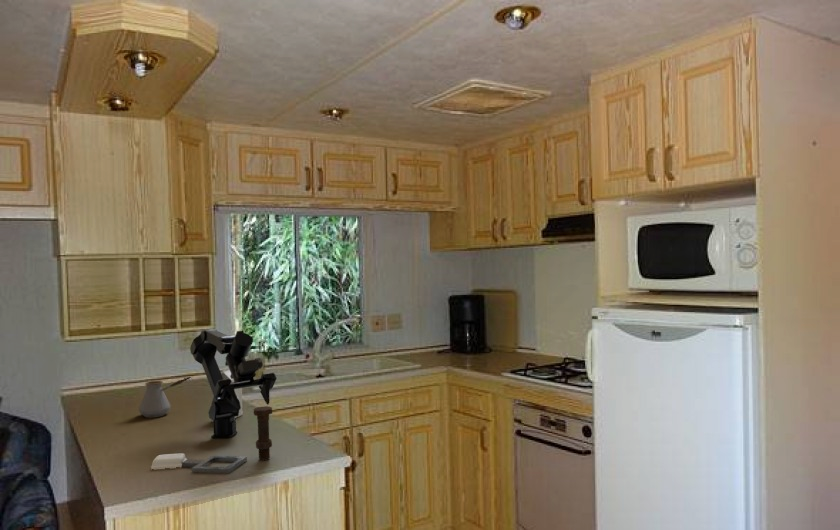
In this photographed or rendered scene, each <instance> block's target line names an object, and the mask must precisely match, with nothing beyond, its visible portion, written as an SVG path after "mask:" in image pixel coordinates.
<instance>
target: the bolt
mask: <svg viewBox="0 0 840 530" xmlns="http://www.w3.org/2000/svg"><path fill="white" fill-rule="evenodd" d="M272 414H273V408H272V407H271V406H268V405H267V406H258V407H255V408H253V416H256V418H257V419H256V420H257V438H258V439H257V440H256V441H255V447H256V449H257V450H258V460H260V459H261V460H260V461H267V459H268V460H269V459H270V458H271V457H270V454H271V453H270V449H271V448H272V446H273V441H272V439H271V438H270V424H269V423H270V421H269V420H270V415H272Z"/></svg>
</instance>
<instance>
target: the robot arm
mask: <svg viewBox="0 0 840 530" xmlns="http://www.w3.org/2000/svg"><path fill="white" fill-rule="evenodd" d="M253 342H254V338H253V337H252V336H251V335H250V334H249V333H245V332H244V330H236V333H235V334H231V335H227V334H225V333H223V332H221V331H220V330H219V331H218V329H215V328H212V329H211V328H210V329H203V330H201V332H200V334H199V335H197V336H196V337H195V338H193V340H192V341H191V344H190V347H189V348H190V354H191V355H192V356H193V359H194V360H195V362H197V363H198V364H200V365H202V368H203V371H204V373H205V376H206V379H207V381H208V383H209V387H210V389H211V392H212V394H213V397H212V401H211V405H210V408H209V410H208V417H209V419H210V420H212V422H213V423H212V424H213V427H212V428H213V429H212V430H213V434H212V435H211V436H210V438H216V439H217V438H219V439H221V438H222V439H225V438H226V439H227V438H228V439H229V438H231V437H233V436H235V435H237V434H238V431H237V421H236V420H235V419H236V418H235V416H238V415H239V410H240V409H241V406H240V402H239V399H238V398H237V395H236V394H235V391H234V389H238V388H242V389H248V388H252V387H253V388H254V387H258V388H259V390H260V394H261V397H262V399H263V400H264V402H265V404H266V405H267V406H268V405H270V391H271V389H273V388H274V385H275V383H276V381H277V378H278V377H277V375H276V374H275V373H274V372H266V373H262V374H261V376H260V378H256V379H254V378H255V377H256V375H257V374H256V372H257V371H259V370H260V369H262V368H263V367H264V365H263V360H262V359H261V357H256V358H254V359H249V360H248V359H246V357H247V356H248V355H249V352H250V351H251V349H252V345H253ZM217 352H218V353H219V354H220V355H226V357H225V364H224V365H225V366H227V367H229V369H230V372H231V376H230V377H231V379H233V380H234V382H232V383H231V379H223V377H222V374H221V370H220V367H219V365H218V362H217V359H216V357H215V356H216V354H217Z"/></svg>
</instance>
